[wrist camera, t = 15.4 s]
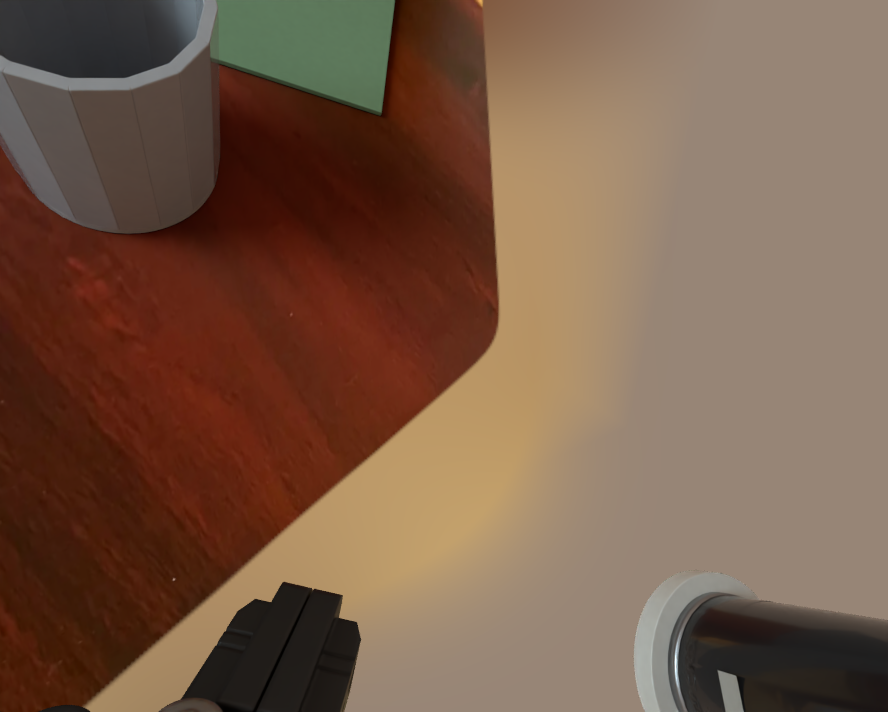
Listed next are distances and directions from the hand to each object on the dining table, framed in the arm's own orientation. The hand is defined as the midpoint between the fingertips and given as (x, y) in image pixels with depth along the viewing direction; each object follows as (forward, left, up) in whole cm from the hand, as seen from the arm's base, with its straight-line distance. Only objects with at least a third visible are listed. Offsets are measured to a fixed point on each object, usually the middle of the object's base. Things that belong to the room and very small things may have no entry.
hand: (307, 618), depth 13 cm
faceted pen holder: (+12, -23, -18) cm, 32 cm away
